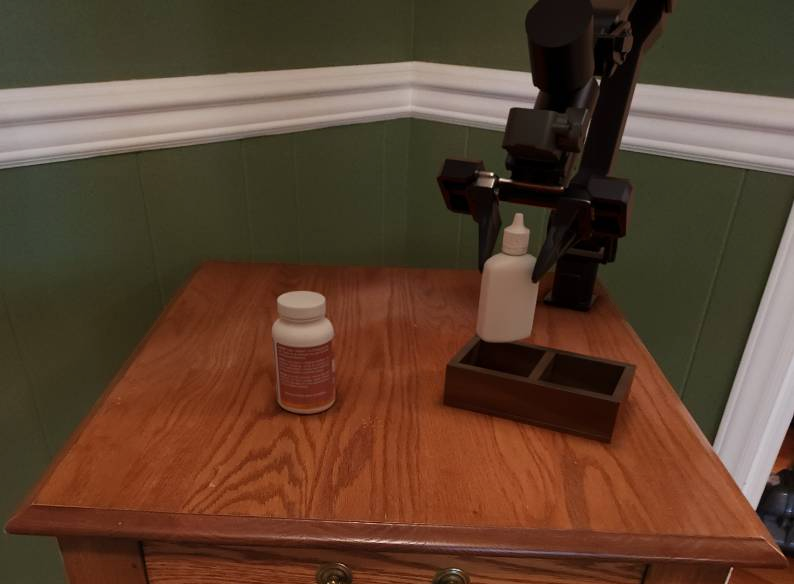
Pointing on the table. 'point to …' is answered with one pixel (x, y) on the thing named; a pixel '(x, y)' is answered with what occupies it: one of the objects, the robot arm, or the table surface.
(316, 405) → the pill bottle
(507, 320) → the eye dropper bottle
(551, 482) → the table surface
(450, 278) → the table surface
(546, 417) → the box
